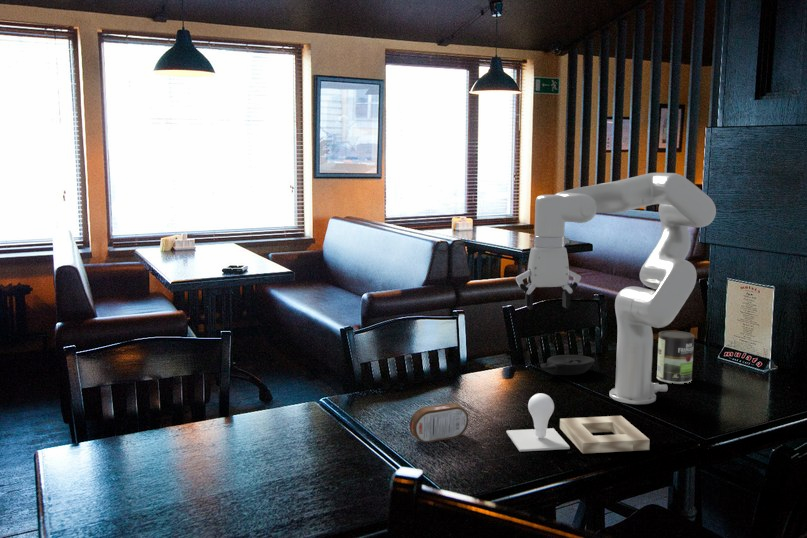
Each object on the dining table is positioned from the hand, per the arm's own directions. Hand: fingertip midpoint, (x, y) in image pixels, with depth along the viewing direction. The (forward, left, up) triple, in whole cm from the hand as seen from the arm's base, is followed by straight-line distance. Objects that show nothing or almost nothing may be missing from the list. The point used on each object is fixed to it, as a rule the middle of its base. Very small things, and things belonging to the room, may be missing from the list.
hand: (547, 308), depth 192 cm
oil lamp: (-17, -33, -29) cm, 47 cm away
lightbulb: (+7, +19, -28) cm, 35 cm away
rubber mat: (+8, +19, -28) cm, 35 cm away
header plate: (-8, +20, -28) cm, 36 cm away
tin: (+31, +15, -29) cm, 45 cm away
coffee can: (-48, -23, -28) cm, 60 cm away
